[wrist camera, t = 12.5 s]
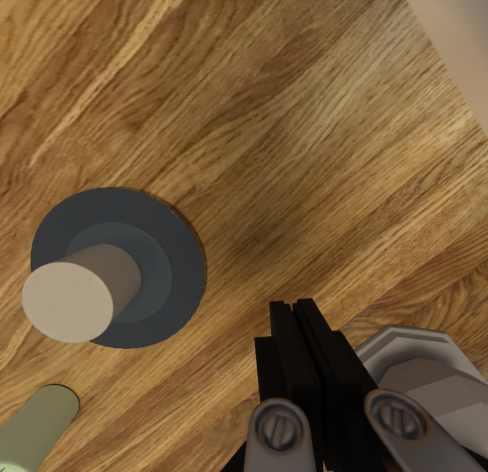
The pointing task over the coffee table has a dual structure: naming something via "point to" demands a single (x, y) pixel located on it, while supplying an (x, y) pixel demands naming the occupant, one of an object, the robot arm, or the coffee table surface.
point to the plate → (140, 249)
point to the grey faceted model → (432, 379)
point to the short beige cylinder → (81, 292)
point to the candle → (36, 428)
